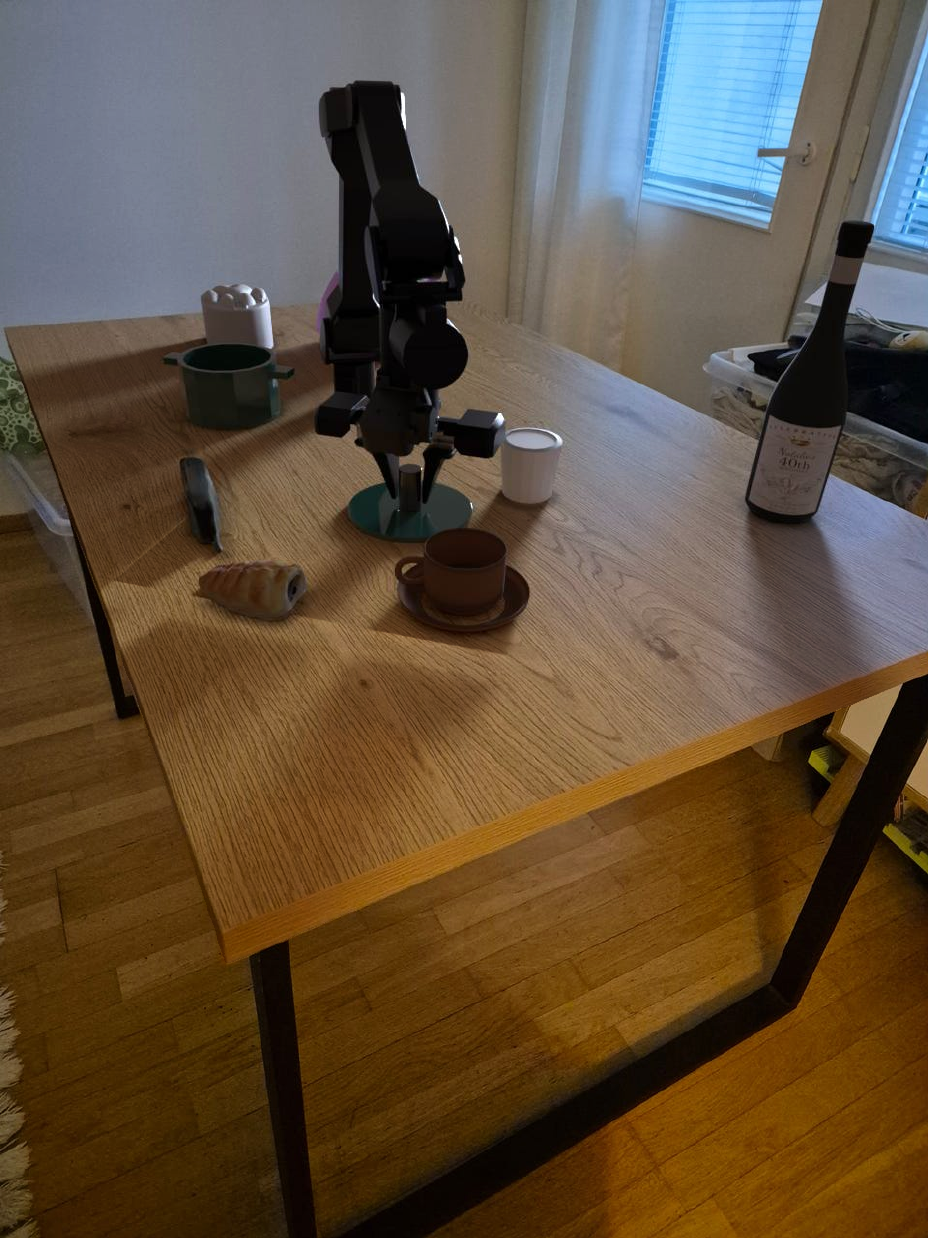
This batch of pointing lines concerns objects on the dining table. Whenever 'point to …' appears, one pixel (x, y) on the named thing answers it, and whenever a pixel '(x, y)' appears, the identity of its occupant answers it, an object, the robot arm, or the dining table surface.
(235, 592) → the pastry
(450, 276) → the robot arm
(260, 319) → the lumpy-topped squat cylinder
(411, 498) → the lid
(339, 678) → the dining table surface
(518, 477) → the white lidded cup
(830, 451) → the wine bottle
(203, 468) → the black long curved piece
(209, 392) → the pot
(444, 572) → the cup and saucer
